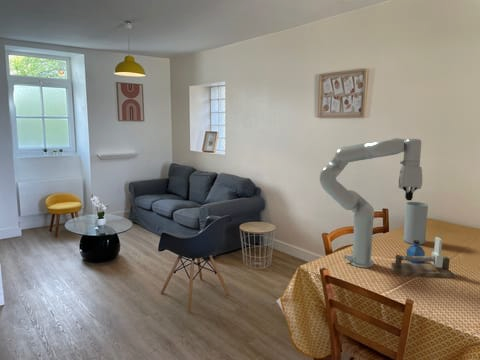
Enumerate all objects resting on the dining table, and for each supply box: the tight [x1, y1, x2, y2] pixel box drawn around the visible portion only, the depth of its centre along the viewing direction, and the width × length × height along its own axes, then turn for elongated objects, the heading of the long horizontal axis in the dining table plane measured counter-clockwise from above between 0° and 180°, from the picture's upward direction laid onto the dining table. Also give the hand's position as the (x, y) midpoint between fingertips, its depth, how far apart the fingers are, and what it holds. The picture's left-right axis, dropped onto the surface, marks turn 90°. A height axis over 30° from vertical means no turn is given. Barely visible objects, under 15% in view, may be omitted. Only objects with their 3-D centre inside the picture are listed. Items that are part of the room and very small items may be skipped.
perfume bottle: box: [406, 240, 426, 264], centre depth 195 cm, size 6×6×12 cm
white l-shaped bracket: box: [430, 236, 444, 267], centre depth 180 cm, size 3×6×14 cm, turn 174°
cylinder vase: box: [403, 201, 429, 246], centre depth 227 cm, size 12×12×25 cm
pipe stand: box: [390, 254, 455, 279], centre depth 182 cm, size 26×12×8 cm, turn 84°
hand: (408, 199), depth 180 cm, fingers closed
